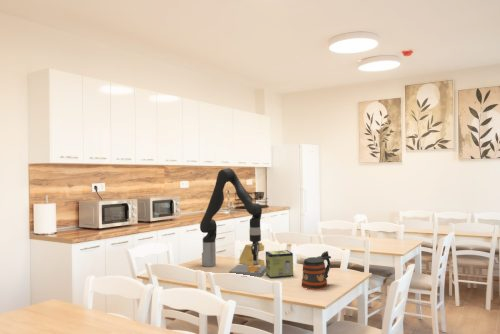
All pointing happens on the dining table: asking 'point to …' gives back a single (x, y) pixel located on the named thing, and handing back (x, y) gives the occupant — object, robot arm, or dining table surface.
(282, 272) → the protein box
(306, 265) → the beer stein
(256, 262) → the awl
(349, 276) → the dining table surface
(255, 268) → the stud finder
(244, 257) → the tan lumpy shape
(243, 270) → the subfloor board
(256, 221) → the robot arm
